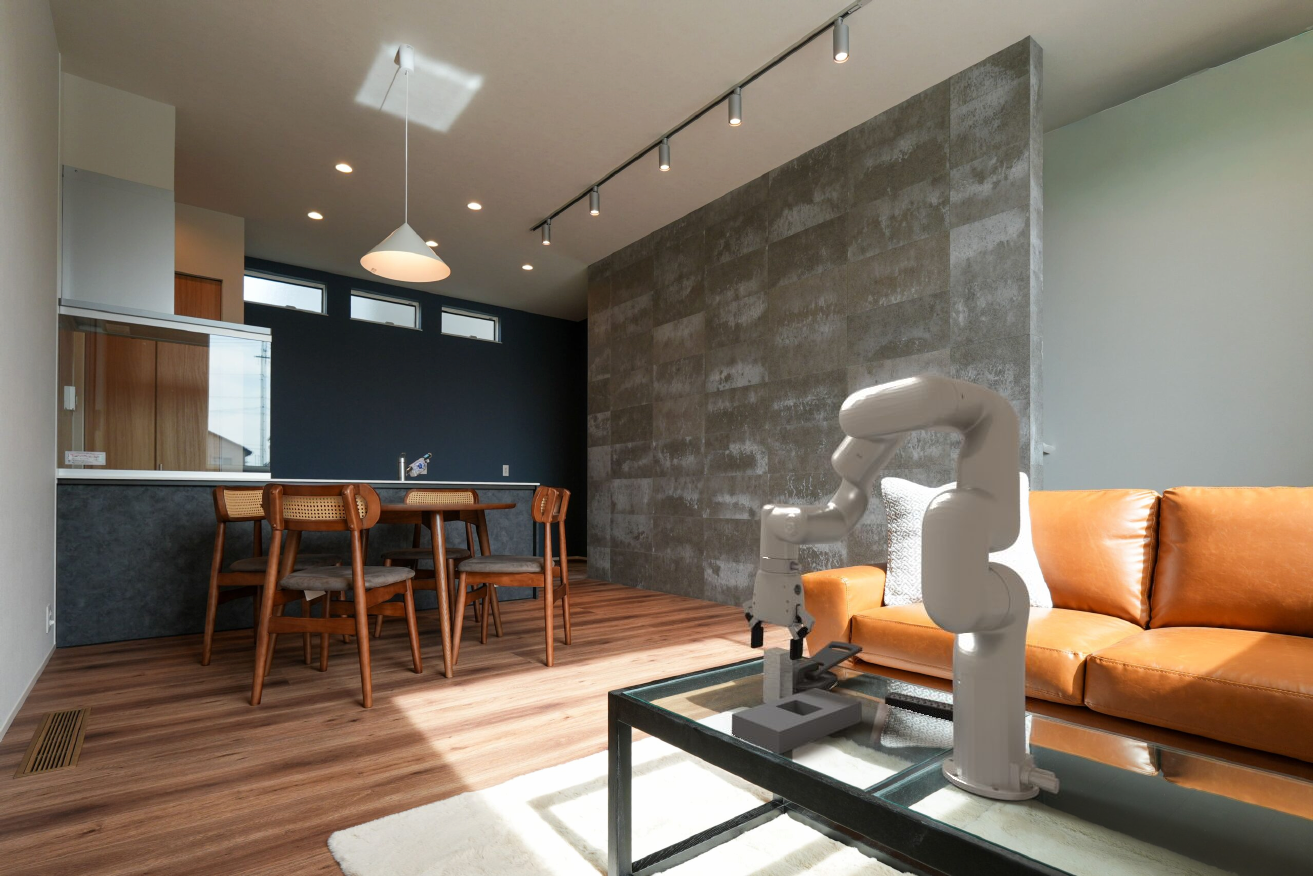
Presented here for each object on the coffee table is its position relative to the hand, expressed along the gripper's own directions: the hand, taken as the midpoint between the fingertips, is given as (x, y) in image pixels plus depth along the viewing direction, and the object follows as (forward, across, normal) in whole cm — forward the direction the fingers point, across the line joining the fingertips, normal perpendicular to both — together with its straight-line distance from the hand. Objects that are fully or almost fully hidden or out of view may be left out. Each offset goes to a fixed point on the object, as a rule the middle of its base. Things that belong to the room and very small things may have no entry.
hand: (775, 653), depth 129 cm
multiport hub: (+10, -22, -19) cm, 30 cm away
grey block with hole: (+9, -12, +8) cm, 17 cm away
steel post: (+9, -1, 0) cm, 9 cm away
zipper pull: (+10, +2, -18) cm, 21 cm away
